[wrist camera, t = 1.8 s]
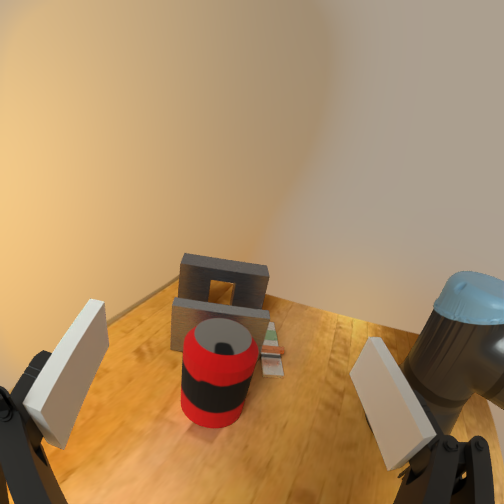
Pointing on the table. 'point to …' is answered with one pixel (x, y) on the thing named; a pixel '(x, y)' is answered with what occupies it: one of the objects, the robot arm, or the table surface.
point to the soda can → (216, 371)
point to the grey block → (195, 312)
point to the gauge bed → (243, 294)
